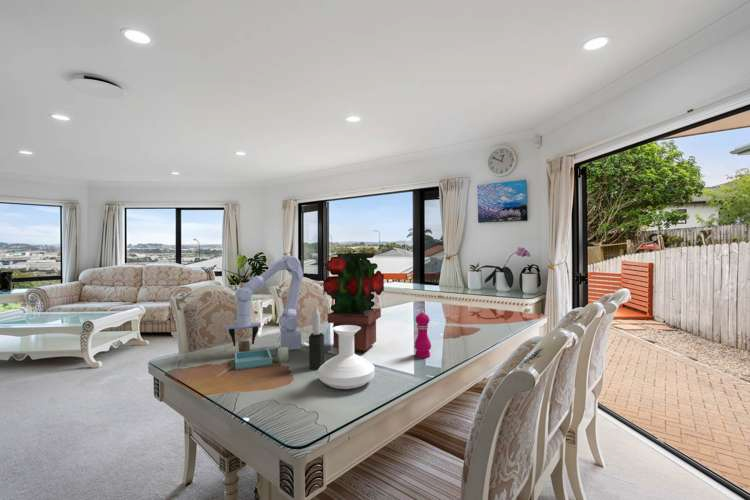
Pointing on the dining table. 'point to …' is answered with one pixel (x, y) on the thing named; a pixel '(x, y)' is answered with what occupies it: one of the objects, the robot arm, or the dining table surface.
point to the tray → (252, 359)
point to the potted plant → (354, 296)
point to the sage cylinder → (283, 354)
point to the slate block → (271, 350)
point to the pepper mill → (422, 336)
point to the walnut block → (244, 346)
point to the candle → (316, 343)
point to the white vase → (346, 363)
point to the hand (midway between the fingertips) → (243, 344)
